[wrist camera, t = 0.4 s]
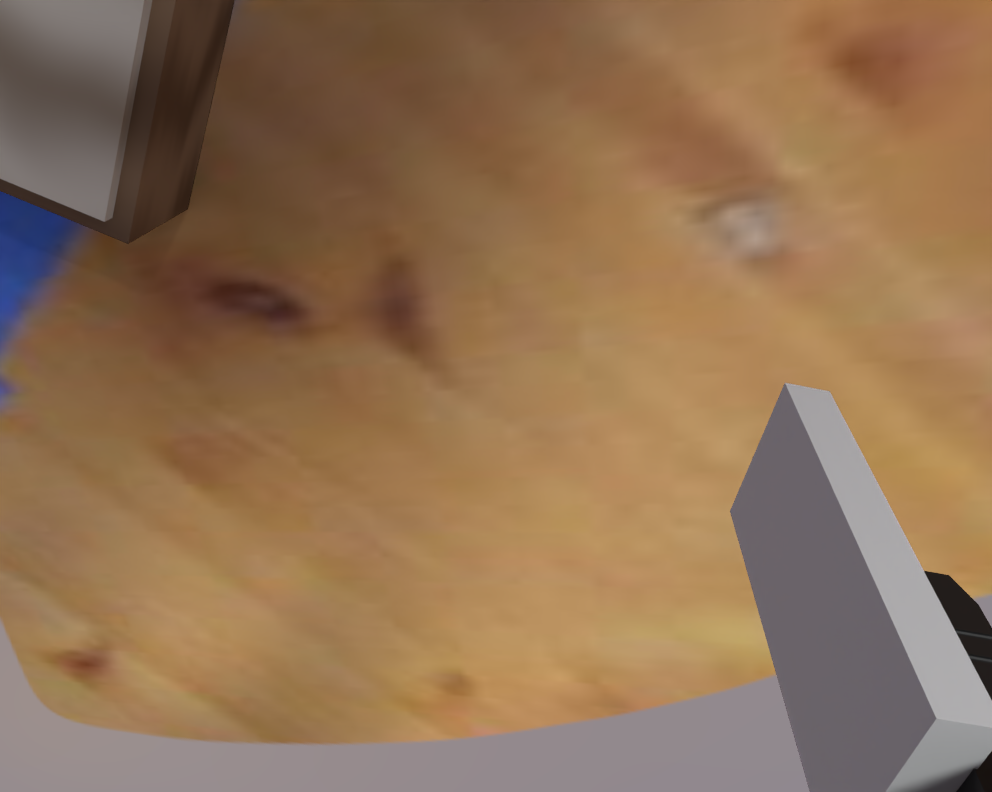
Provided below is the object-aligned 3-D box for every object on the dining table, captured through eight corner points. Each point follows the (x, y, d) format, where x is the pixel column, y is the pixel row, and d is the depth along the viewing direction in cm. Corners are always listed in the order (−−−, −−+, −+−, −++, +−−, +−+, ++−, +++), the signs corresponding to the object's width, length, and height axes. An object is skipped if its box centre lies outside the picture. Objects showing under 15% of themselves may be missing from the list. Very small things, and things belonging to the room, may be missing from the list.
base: (-43, -198, 35) (-166, -224, 29) (250, -70, 35) (182, -74, 30) (-67, 103, 40) (-174, 127, 35) (187, 209, 41) (120, 248, 35)
